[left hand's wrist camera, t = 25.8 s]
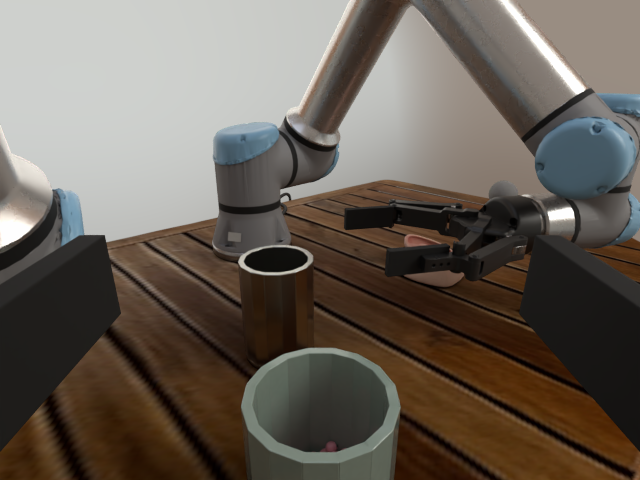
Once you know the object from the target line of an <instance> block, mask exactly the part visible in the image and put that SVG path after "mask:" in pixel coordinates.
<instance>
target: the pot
mask: <svg viewBox="0 0 640 480" xmlns="http://www.w3.org/2000/svg"><path fill="white" fill-rule="evenodd" d="M400 407H401V406H400V402H399V398H398V394H397V390H396V386H395V385H394V383H393V382H392V381H391V379H390V378H389V377H388V376H387V375H386V373H385V372H384V371H383V370H382V369H381V368H380V367H379V366H378V365H376V364H374V363H373V362H371V361H369V360H368V359H366V358H364V357H362V356H361V355H358V354H356V353H352V352H348V351H344V350H340V349H336V348H306V349H302V350H298V351H294V352H290V353H286V354H283V355H281V356H279V357H277V358H276V359H274V360H272V361H270V362H269V363H267V364H265V365H263V366H262V367H261V368H260V369H259V370H258V371H257V372H256V374H255V375H254V376H253V377H252V378H251V380H250V381H249V382H248V383H247V385H246V388H245V392H244V396H243V400H242V404H241V415H242V425H243V436H244V447H245V458H246V469H247V480H394V471H395V461H396V450H397V439H398V428H399V418H400ZM329 441H333V442H335V443H336V445H337V450H336V451H338V452H320V451H321V450H322V449H323V448H325V446H326V443H328V442H329ZM343 448H346V449H344V450H342V449H343Z"/></svg>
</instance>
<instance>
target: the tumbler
mask: <svg viewBox="0 0 640 480" xmlns="http://www.w3.org/2000/svg"><path fill="white" fill-rule="evenodd" d="M238 266H239V278H240V291H241V303H242V315H243V328H244V340H245V351H246V356H247V359H248V361H249V362H250V363H251V364H252V365H253V366H254V367H256V368H258V369H260V368H261V367H262V366H263V365H265V364H267V363H269V362H270V361H272V360H274V359H276V358H277V357H279V356H281V355H283V354H286V353H290V352H294V351H298V350H302V349H306V348H314V271H313V255H312V254H311V253H310V252H309V251H307V250H305V249H302V248H300V247H295V246H289V245H270V246H264V247H259V248H256V249H252V250H249V251H248V252H246V253H245V254H243V255H242V256H241V257H240V259H239V261H238Z"/></svg>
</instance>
